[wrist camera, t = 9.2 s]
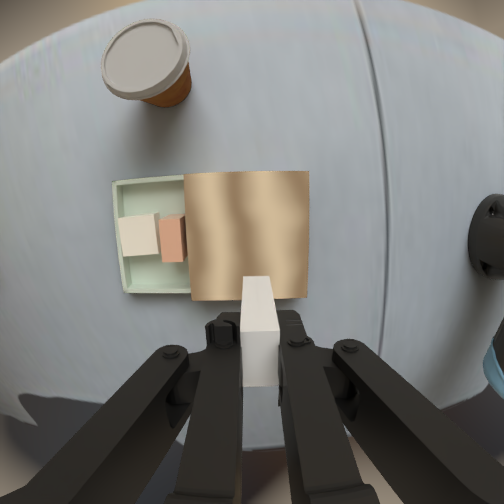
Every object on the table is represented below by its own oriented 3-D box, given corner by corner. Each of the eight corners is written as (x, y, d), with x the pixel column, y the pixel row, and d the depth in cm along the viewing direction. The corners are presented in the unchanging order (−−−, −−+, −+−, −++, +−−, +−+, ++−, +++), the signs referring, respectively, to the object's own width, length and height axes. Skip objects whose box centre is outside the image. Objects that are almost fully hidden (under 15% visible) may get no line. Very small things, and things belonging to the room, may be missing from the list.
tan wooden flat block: (300, 172, 37) (309, 171, 32) (299, 283, 41) (306, 297, 36) (191, 174, 37) (183, 174, 32) (197, 286, 40) (191, 300, 36)
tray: (189, 174, 37) (185, 174, 34) (195, 286, 40) (192, 293, 38) (119, 180, 37) (112, 181, 34) (130, 286, 40) (123, 292, 38)
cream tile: (117, 218, 35) (124, 215, 37) (123, 256, 36) (129, 251, 39) (153, 214, 35) (159, 211, 37) (158, 253, 36) (163, 249, 39)
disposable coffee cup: (198, 120, 35) (178, 96, 24) (130, 118, 35) (88, 99, 23) (209, 55, 33) (195, 13, 21) (142, 56, 32) (109, 20, 21)
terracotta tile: (179, 218, 33) (158, 219, 33) (182, 261, 34) (162, 262, 34) (187, 213, 38) (169, 214, 38) (190, 251, 39) (172, 252, 39)
